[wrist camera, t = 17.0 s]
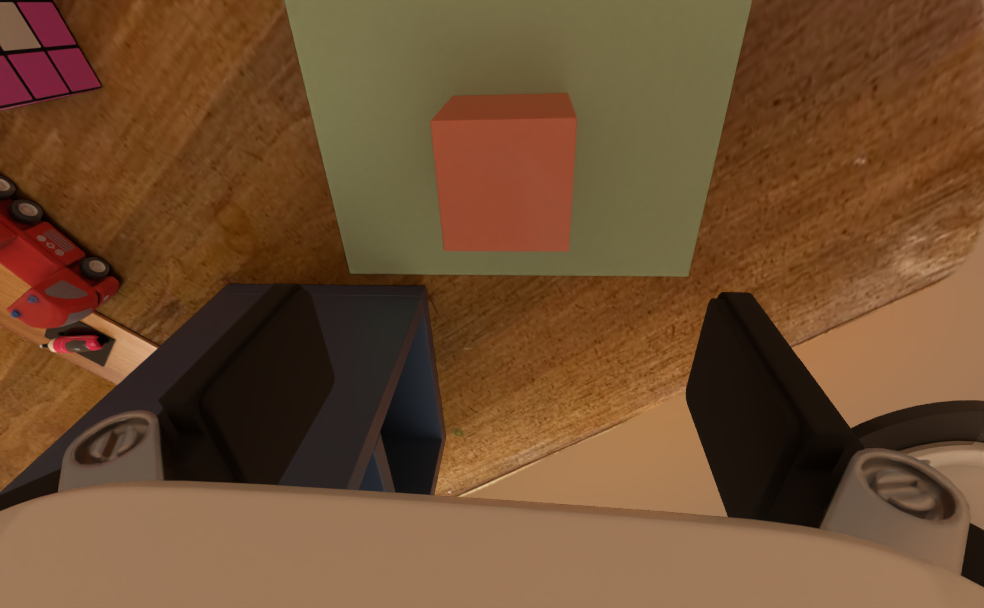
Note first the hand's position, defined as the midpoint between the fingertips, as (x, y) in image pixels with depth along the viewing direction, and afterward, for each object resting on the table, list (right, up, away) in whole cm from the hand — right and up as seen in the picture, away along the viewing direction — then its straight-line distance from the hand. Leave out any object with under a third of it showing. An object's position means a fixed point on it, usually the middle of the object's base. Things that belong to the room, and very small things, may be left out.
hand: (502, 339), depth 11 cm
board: (-31, -1, +22) cm, 38 cm away
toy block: (+1, +8, +12) cm, 15 cm away
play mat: (+1, +9, +12) cm, 15 cm away
